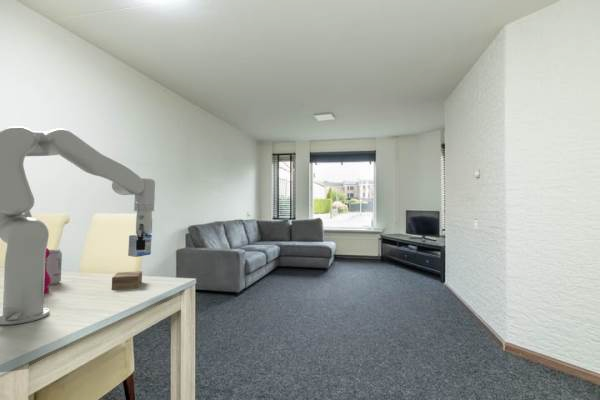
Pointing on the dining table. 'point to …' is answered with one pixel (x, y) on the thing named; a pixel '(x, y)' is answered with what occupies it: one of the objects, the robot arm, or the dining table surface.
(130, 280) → the walnut plinth
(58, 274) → the grey upright box
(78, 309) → the dining table surface
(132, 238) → the medicine box
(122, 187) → the robot arm
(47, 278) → the pepper mill
